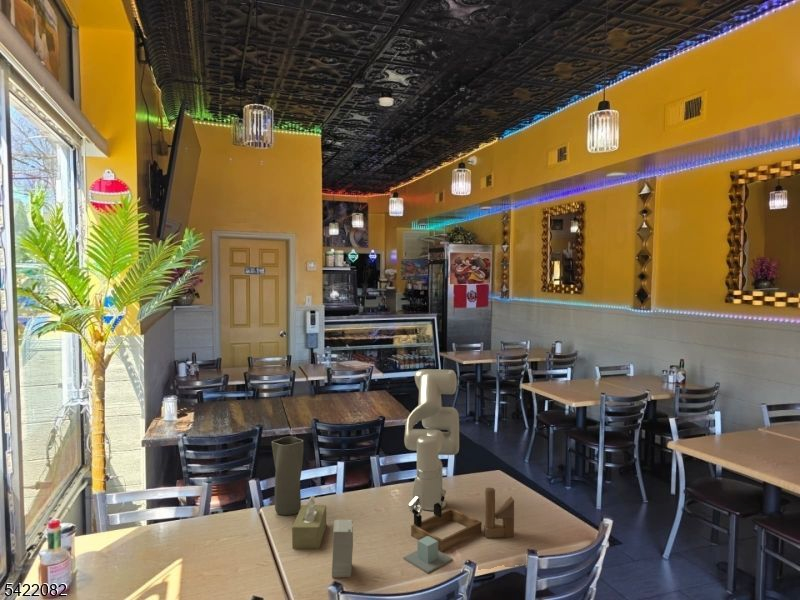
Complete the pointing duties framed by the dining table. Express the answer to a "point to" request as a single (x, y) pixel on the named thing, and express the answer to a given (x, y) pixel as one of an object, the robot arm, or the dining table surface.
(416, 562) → the mat
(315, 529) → the tissue box
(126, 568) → the dining table surface
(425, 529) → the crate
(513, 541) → the dining table surface
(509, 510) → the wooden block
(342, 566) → the skincare box
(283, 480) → the vase
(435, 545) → the block
